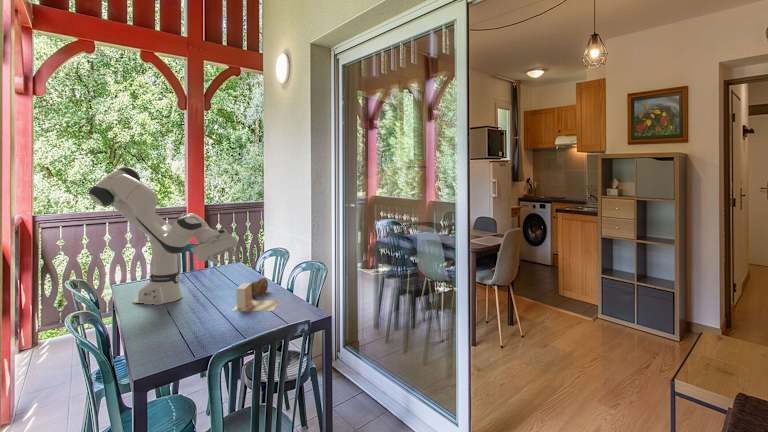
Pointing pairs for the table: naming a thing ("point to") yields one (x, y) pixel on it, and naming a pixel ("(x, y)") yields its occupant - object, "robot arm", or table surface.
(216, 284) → the table surface
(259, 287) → the tin
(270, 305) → the board
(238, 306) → the tile
